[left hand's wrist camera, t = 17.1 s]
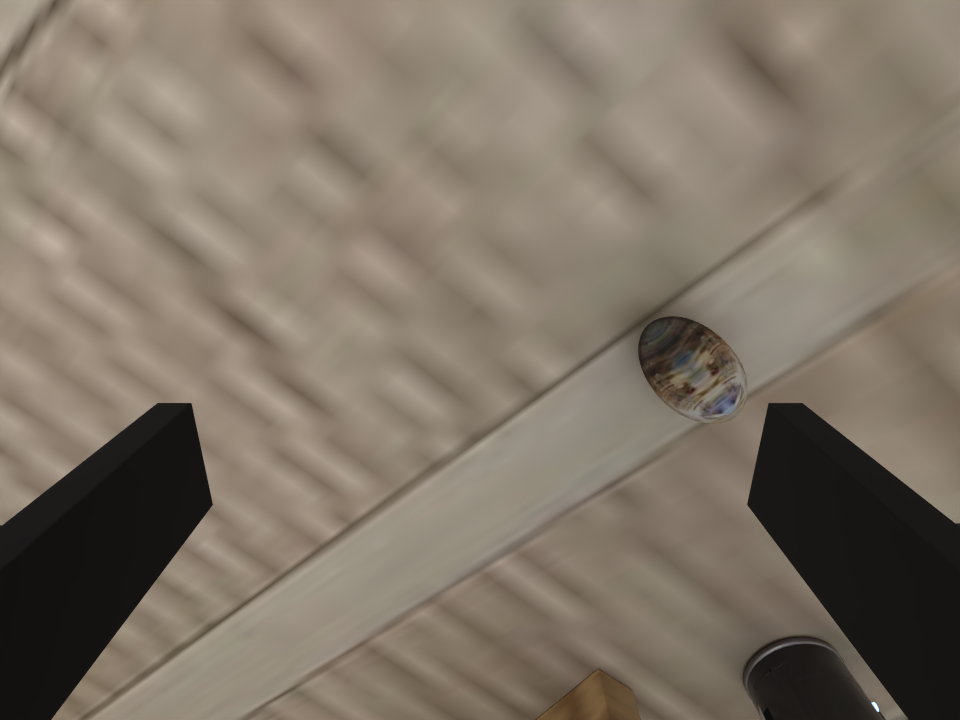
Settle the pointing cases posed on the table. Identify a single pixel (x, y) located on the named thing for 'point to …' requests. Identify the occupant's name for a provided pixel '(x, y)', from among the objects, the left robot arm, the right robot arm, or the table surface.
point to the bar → (595, 701)
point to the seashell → (692, 370)
